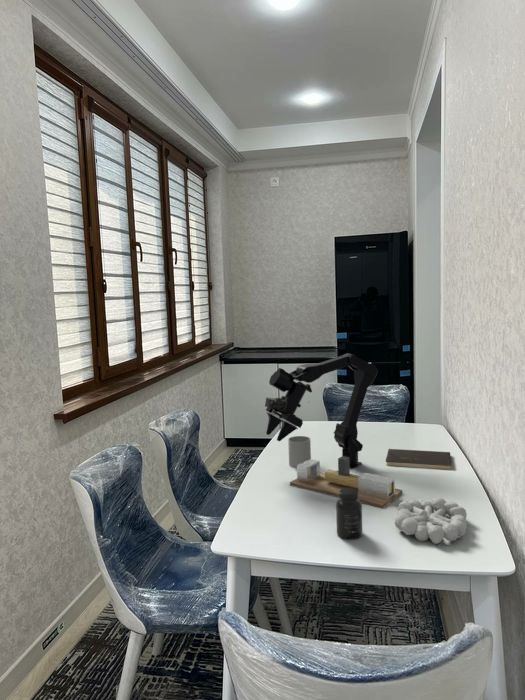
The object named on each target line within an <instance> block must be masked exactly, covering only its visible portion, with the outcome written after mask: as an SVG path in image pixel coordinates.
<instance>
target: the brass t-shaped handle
mask: <svg viewBox="0 0 525 700" xmlns="http://www.w3.org/2000/svg"><path fill="white" fill-rule="evenodd" d="M337 466H338V467H337V469H338V470H335V469H331V468H330V469H327V470H326V471H324V473H325V481H329V482H334V483H338V484H342V485H346V486H351V487H355V488H358V477H360V476H361V475H358V474H353V473H350V472H351V471H350V469H351V468H350V461H349V457H345V456H342V455H341V456H340V457H338V458H337ZM391 492H392V483H391V484H389V494H390V493H391Z"/></svg>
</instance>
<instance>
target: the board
mask: <svg viewBox="0 0 525 700" xmlns="http://www.w3.org/2000/svg"><path fill="white" fill-rule="evenodd" d="M289 485H290V486H294V487H297V488H301V489H304V490H307V491H308V490H309V491H312V492H316V493H322V494H325V495H327V496H328V495H329V496H332V497H337V498H339V491H340V490H341V489H343V488H353V489H356V490H357V491H358V488H355V487H351V486H346V485H342V484H338V483H334V482H329V481H325V472H323V471H320V476H318V477H316V478H314V479H312V480H311V481H309V482H303V481H299V480H297V478H296V479H292V480H291V481H290V482H289ZM402 494H403V489H399V488H395V495H393V496H392V497H391V498H389V499H388V500H387V499H383V498H379V497H375V496H370V495H366V494H362V493H358V500H359V501H360V502H361V504H364V505H369V506H372V507H375V508H380V509H384V508H386V507H387V505H389V504H390V503H391V502H393V501H395V499H397V498H398V497H399V496H401V495H402Z"/></svg>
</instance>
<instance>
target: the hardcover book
mask: <svg viewBox="0 0 525 700" xmlns="http://www.w3.org/2000/svg"><path fill="white" fill-rule="evenodd" d="M385 463H386V466H391V467H392V466H394V467H407V468H408V467H410V468H424V469H425V468H426V469H435V470H436V469H437V470H438V469H440V470H452V467H453V465H452V457H451V451H435V450H433V451H432V450H417V449H398V448H388V450H387V454H386V458H385Z"/></svg>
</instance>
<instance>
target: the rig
mask: <svg viewBox="0 0 525 700" xmlns="http://www.w3.org/2000/svg"><path fill="white" fill-rule="evenodd" d="M320 465H321V463H320V460H316V459H312V458H311V459H309V460H307V461H305V462H303V463H301V464H299V465H297V468H296V476H297V478H296V479H297V480H299V481H303V482H309V481H311V480H312V479H314V478H316V477H318V476H320V472H321V470H320V468H321V466H320ZM359 476H360V477H358V493H362V494H366V495H370V496H375V497H379V498H383V499H387V500H388V499H389V498H391V497H392V496H393V495H395V489H396V485H395V483H396V480H395V478H393V477H389V476H383V475H379V474H373V473H368V472H364V473H363V474H361V475H359ZM391 483H392V492H391V493H390V494H389V484H391Z"/></svg>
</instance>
